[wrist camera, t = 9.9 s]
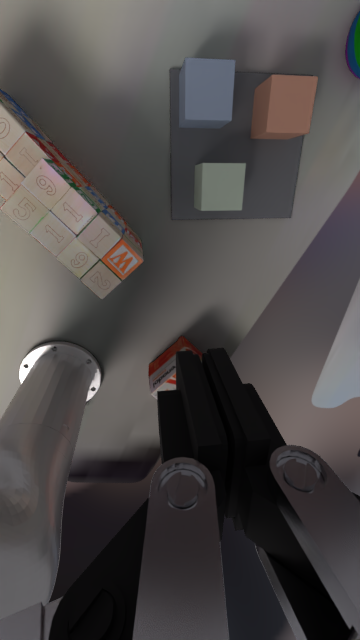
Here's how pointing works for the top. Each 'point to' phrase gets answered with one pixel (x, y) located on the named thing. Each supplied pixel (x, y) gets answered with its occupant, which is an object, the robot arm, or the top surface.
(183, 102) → the slate-blue cube
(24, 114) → the stack of blocks
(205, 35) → the top surface
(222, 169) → the sage cube
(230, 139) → the charcoal mat
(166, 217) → the top surface
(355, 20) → the decorative egg
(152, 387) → the medicine box
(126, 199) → the top surface
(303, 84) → the terracotta cube
